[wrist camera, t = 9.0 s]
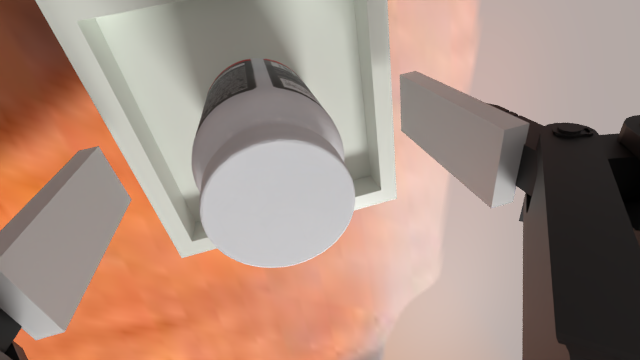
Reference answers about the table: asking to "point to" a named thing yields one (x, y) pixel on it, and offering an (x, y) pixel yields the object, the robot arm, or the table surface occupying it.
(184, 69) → the tray
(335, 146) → the pill bottle
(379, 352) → the table surface
